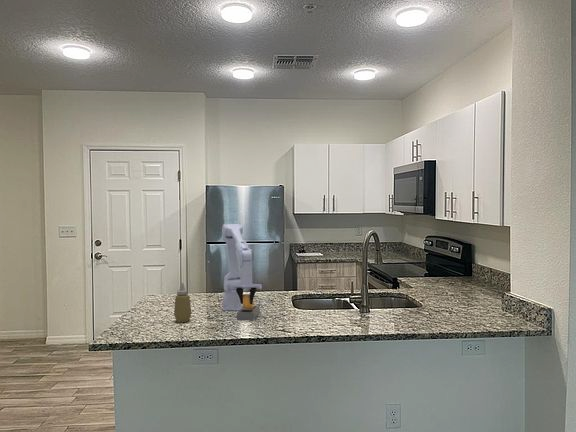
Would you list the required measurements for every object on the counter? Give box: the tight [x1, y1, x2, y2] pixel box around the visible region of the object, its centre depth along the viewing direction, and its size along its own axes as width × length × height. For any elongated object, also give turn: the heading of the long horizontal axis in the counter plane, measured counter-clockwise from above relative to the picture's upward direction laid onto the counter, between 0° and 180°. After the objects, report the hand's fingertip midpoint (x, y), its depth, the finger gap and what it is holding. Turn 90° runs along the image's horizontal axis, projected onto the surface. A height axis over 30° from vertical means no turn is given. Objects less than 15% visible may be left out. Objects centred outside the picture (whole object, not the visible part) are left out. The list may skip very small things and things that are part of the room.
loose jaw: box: [242, 293, 251, 309], centre depth 218 cm, size 4×4×6 cm
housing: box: [236, 300, 261, 321], centre depth 221 cm, size 8×14×6 cm, turn 172°
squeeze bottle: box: [173, 282, 192, 323], centre depth 214 cm, size 8×8×18 cm
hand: (246, 303), depth 218 cm, fingers closed on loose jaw, 4 cm apart
